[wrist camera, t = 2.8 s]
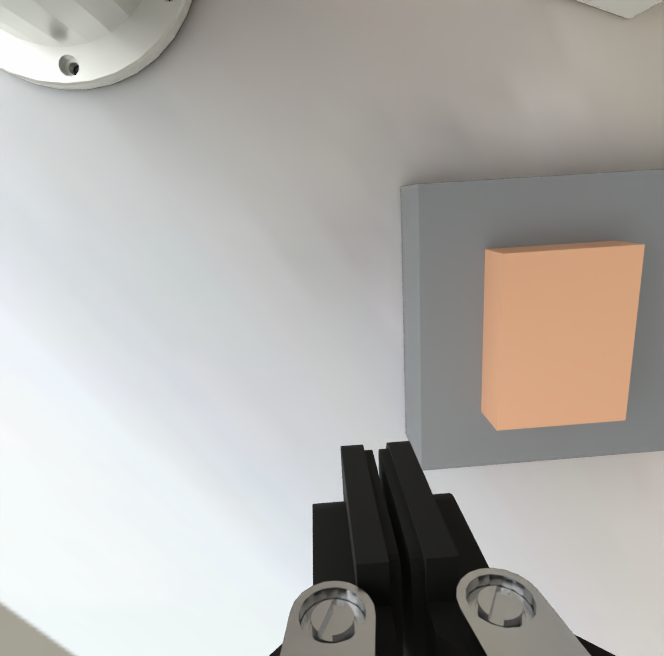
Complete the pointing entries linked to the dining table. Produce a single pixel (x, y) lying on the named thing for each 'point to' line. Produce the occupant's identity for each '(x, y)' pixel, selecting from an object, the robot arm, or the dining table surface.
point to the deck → (468, 308)
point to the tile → (559, 333)
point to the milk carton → (622, 6)
